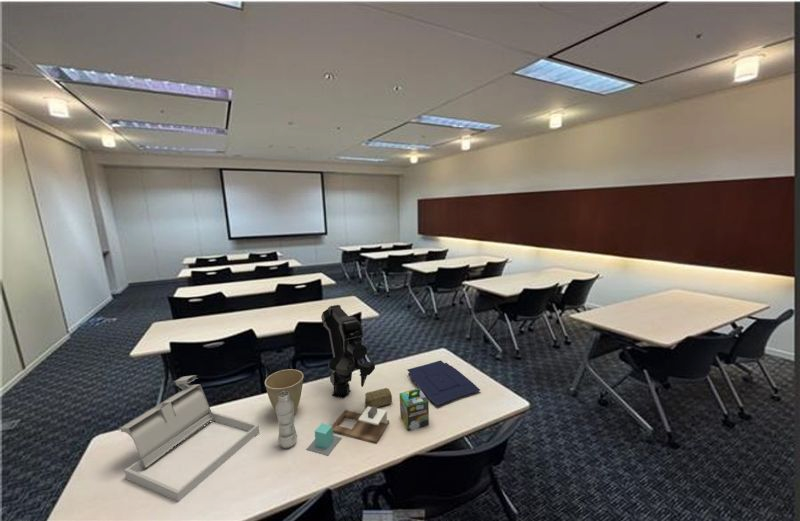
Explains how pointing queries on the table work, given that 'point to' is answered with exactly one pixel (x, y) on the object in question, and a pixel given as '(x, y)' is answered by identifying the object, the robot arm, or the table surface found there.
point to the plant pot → (285, 386)
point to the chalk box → (414, 409)
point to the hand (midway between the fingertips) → (352, 384)
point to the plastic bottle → (286, 420)
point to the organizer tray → (200, 477)
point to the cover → (373, 416)
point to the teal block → (324, 435)
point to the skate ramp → (168, 419)
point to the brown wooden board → (359, 428)
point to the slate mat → (322, 450)
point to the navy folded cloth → (441, 382)
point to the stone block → (378, 398)
